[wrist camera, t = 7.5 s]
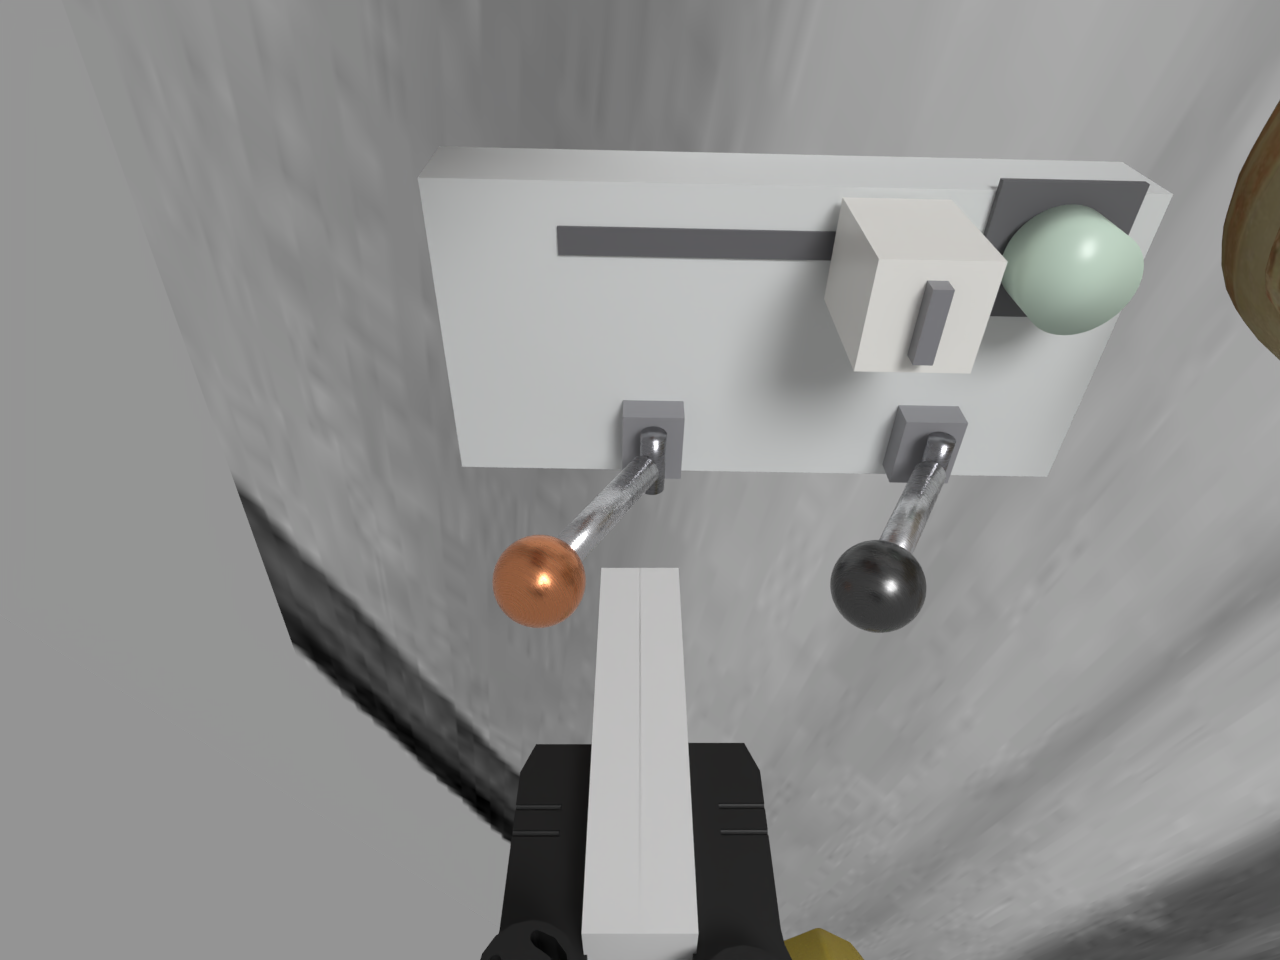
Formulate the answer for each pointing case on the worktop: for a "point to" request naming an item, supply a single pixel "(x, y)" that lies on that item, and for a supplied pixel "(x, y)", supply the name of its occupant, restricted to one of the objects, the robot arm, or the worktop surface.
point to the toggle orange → (573, 544)
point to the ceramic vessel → (1256, 238)
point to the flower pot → (820, 947)
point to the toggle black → (893, 553)
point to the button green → (1071, 269)
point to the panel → (733, 311)
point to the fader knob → (911, 285)
